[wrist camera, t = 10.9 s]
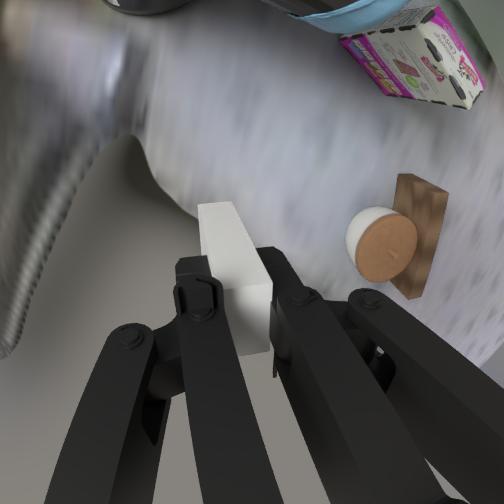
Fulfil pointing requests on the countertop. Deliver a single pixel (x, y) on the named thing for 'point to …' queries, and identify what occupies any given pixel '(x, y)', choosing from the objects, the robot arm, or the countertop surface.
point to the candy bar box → (418, 58)
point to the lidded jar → (380, 242)
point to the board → (419, 229)
